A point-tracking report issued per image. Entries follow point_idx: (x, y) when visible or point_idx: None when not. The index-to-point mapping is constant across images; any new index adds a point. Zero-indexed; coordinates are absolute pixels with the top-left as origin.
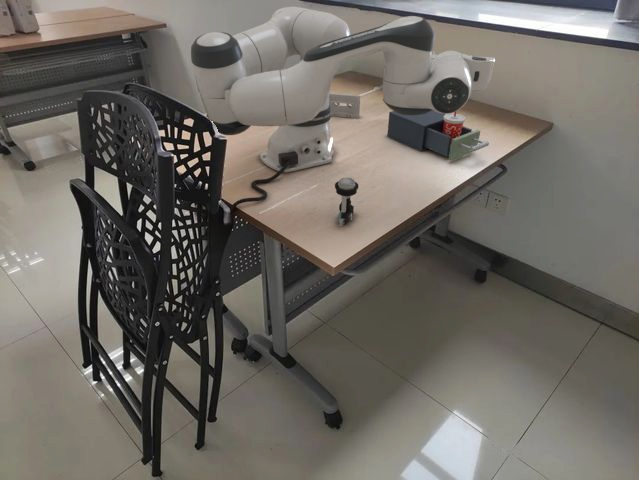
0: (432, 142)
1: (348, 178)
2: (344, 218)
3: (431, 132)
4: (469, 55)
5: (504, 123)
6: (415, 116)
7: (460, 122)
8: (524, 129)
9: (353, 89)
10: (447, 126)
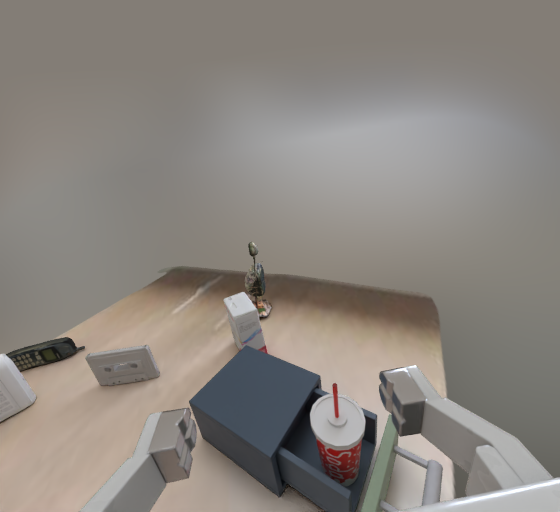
0: (301, 483)
1: None
2: None
3: (292, 464)
4: (408, 375)
5: (382, 319)
6: (245, 404)
7: (359, 439)
8: (418, 326)
9: (169, 300)
10: (328, 451)
